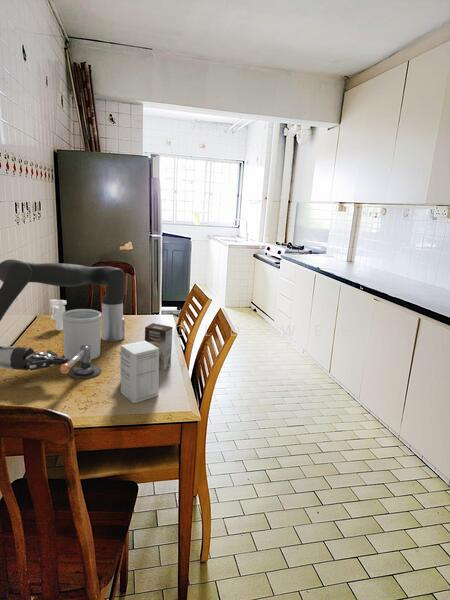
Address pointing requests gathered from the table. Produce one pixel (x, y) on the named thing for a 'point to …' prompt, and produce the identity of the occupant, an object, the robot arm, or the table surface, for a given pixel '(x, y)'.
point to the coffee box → (160, 342)
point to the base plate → (96, 373)
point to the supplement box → (139, 371)
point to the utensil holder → (81, 331)
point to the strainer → (58, 312)
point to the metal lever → (85, 362)
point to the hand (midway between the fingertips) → (66, 361)
